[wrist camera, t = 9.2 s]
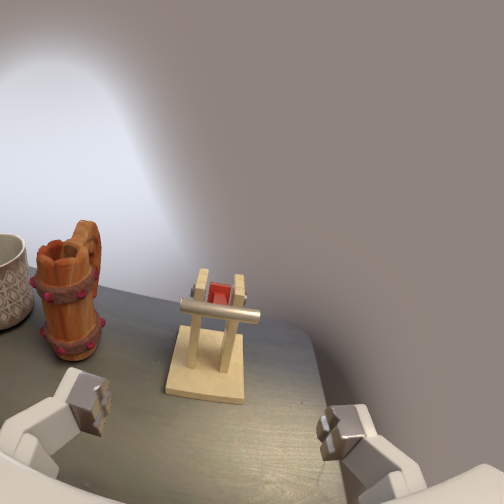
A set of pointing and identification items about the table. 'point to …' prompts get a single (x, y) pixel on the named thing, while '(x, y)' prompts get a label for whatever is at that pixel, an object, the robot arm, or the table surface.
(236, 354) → the wooden lever stand
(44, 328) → the mug
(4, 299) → the planter
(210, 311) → the lever
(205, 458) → the table surface
